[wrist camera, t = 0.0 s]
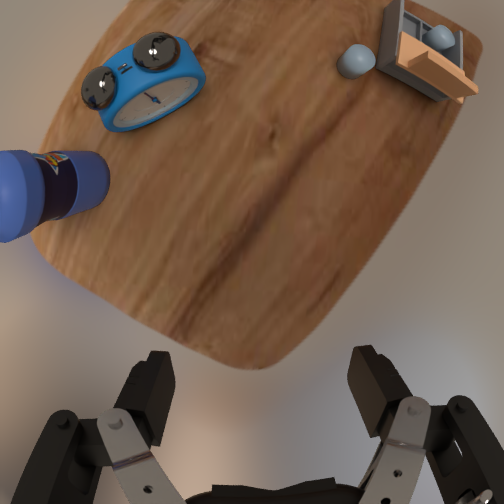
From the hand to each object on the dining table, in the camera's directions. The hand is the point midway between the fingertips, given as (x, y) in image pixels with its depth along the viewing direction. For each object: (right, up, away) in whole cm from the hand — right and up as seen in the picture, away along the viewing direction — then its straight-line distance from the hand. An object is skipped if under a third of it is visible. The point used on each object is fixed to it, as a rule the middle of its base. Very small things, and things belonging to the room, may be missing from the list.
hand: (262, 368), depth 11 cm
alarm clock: (-13, +27, +22) cm, 37 cm away
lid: (+25, +31, +15) cm, 42 cm away
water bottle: (-26, +16, +25) cm, 40 cm away
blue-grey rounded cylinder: (+14, +32, +21) cm, 41 cm away
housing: (+26, +38, +20) cm, 50 cm away
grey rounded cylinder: (+30, +40, +18) cm, 53 cm away
